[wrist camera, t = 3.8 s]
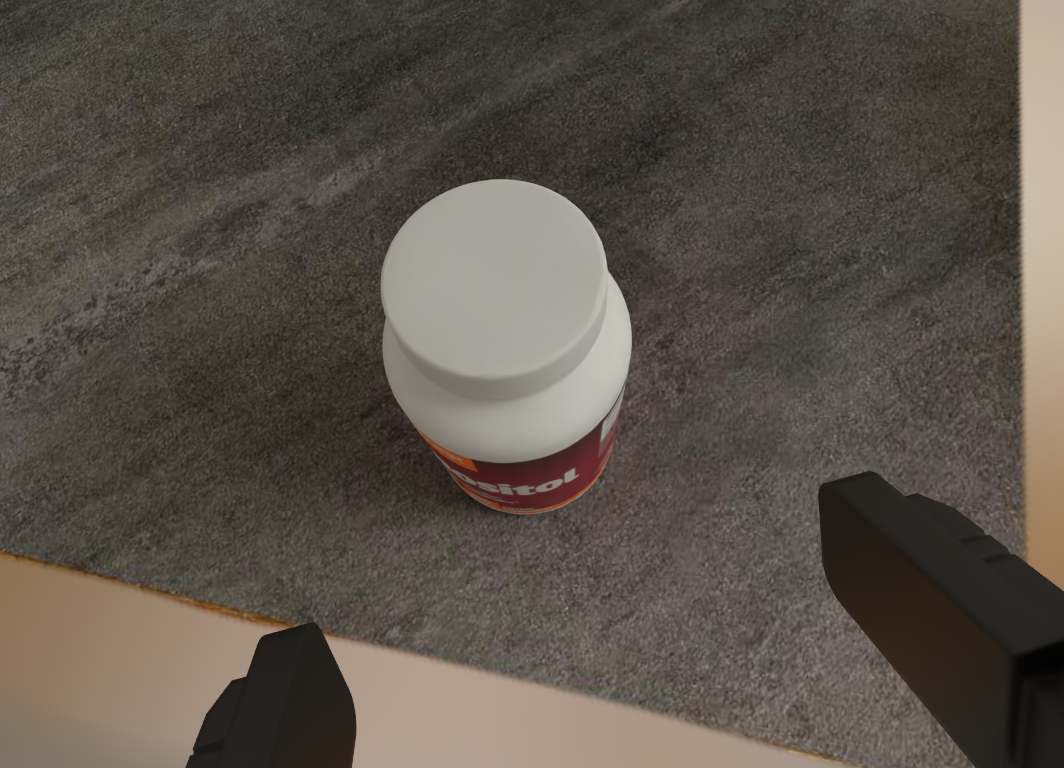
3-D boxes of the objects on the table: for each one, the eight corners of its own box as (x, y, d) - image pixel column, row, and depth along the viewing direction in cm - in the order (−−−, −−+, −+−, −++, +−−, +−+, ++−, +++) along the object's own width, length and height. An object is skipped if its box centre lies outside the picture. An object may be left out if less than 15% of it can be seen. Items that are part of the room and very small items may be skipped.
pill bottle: (419, 496, 23) (291, 377, 13) (468, 339, 25) (392, 128, 15) (595, 538, 22) (609, 447, 12) (630, 371, 24) (669, 171, 14)
